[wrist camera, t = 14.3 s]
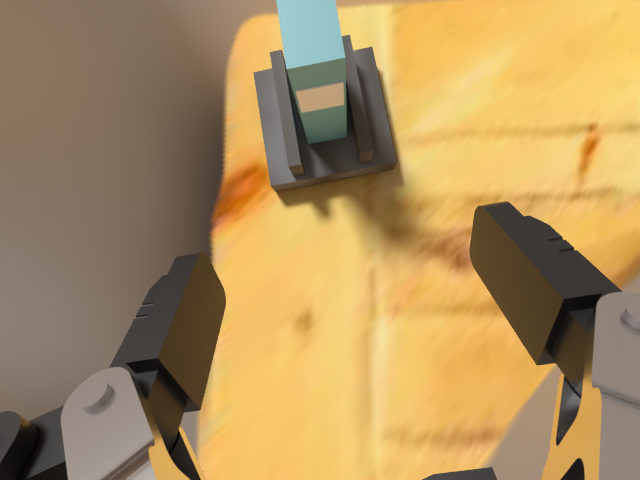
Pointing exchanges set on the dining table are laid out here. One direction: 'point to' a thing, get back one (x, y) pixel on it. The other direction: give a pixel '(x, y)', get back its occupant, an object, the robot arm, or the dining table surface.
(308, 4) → the teal book
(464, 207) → the dining table surface
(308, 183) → the book stand
